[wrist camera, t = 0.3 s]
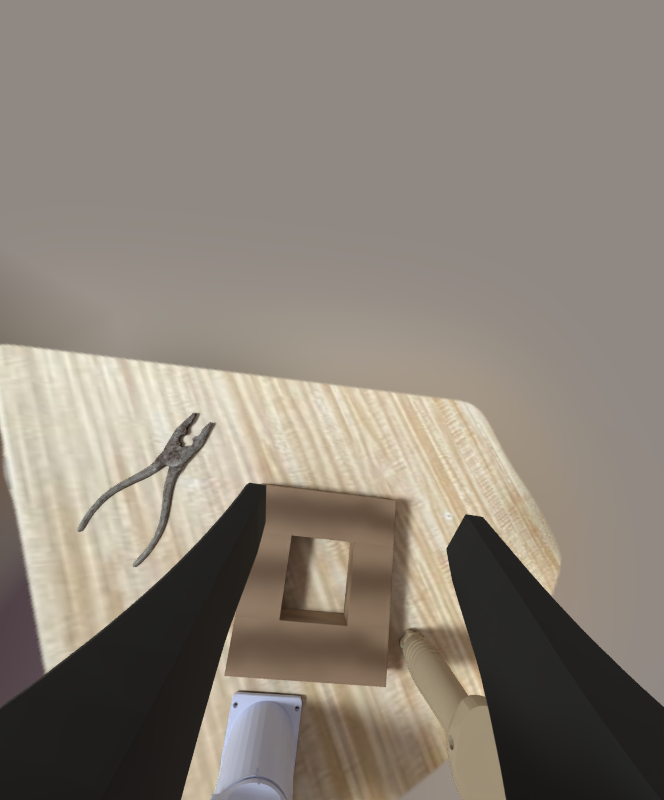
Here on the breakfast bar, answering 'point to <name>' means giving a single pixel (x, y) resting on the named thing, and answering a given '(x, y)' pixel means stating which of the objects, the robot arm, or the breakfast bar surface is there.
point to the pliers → (170, 456)
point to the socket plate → (311, 630)
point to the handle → (457, 721)
